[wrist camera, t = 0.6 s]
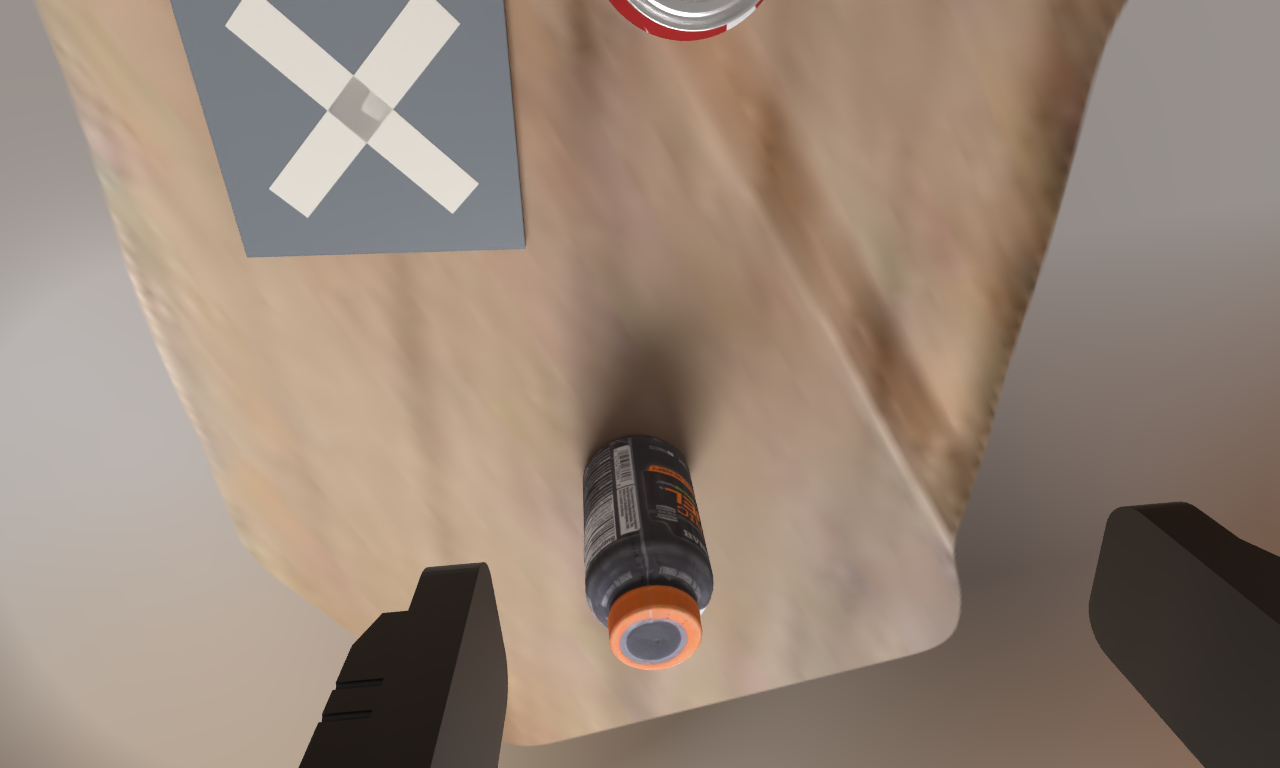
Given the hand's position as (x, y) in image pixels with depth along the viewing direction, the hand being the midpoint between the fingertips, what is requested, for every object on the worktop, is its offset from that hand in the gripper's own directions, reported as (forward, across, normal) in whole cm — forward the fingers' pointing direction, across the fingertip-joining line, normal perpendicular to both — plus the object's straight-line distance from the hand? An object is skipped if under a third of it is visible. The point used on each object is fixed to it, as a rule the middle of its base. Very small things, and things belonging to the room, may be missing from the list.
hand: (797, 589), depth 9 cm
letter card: (+24, +12, -6) cm, 27 cm away
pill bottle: (+28, +2, +14) cm, 31 cm away
